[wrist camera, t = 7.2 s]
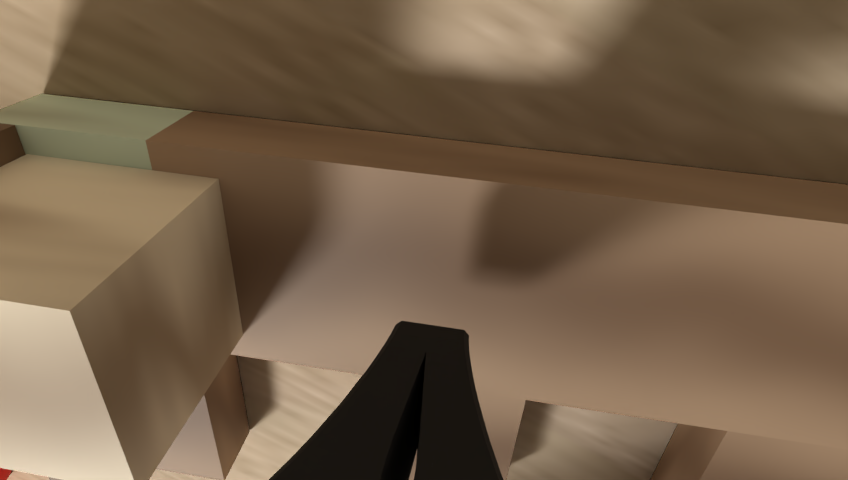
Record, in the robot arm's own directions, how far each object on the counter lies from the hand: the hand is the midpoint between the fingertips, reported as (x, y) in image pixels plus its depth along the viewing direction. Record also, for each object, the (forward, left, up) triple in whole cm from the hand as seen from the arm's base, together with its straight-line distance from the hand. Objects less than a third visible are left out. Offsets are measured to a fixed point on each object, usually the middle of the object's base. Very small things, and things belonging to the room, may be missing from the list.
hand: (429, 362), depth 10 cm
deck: (-3, -1, -4) cm, 5 cm away
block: (0, +7, -2) cm, 8 cm away
